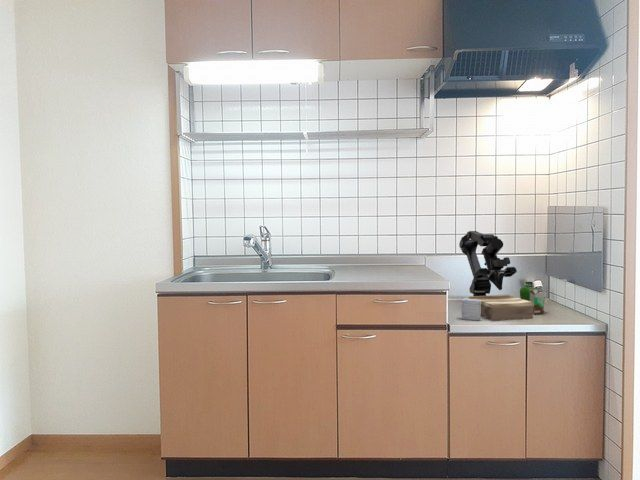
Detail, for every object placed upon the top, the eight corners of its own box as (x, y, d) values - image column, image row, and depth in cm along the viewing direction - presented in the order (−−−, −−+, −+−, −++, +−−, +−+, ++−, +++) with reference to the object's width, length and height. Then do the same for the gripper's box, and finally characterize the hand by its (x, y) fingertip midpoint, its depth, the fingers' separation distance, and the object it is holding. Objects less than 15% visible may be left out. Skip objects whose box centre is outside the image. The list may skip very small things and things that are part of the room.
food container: (548, 315, 233) (549, 293, 232) (534, 314, 234) (534, 293, 233) (542, 309, 245) (543, 288, 244) (529, 309, 246) (529, 288, 245)
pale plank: (477, 302, 235) (477, 299, 234) (516, 300, 239) (516, 297, 239) (492, 308, 223) (492, 304, 223) (532, 305, 228) (532, 302, 228)
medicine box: (480, 318, 227) (481, 299, 227) (480, 320, 223) (480, 301, 222) (462, 317, 230) (462, 298, 229) (461, 319, 226) (461, 300, 225)
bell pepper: (534, 302, 263) (534, 282, 262) (539, 305, 255) (539, 285, 254) (517, 301, 264) (517, 282, 263) (521, 305, 256) (522, 285, 255)
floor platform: (468, 311, 242) (468, 296, 242) (506, 308, 247) (506, 294, 246) (492, 320, 223) (492, 304, 222) (533, 318, 228) (533, 302, 227)
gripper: (480, 251, 232) (490, 283, 225) (517, 250, 236) (528, 281, 229) (470, 262, 241) (479, 293, 234) (505, 260, 245) (515, 291, 238)
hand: (500, 289), depth 234 cm, fingers closed
